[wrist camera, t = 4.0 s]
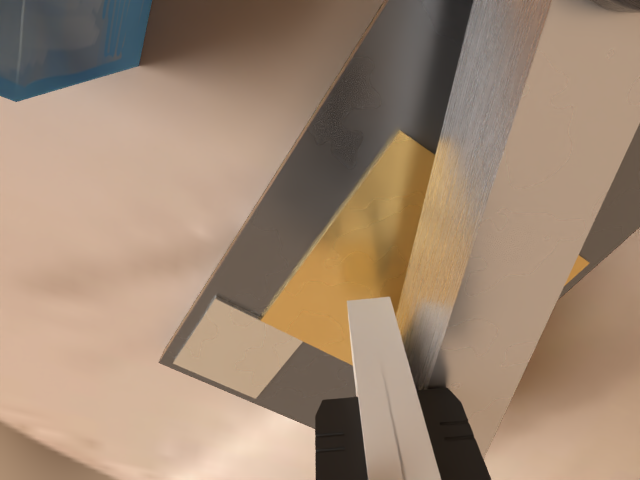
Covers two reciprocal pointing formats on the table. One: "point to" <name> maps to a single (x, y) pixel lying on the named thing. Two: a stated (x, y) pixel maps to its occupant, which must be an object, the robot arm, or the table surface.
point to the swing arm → (515, 190)
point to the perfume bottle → (67, 42)
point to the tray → (348, 221)
